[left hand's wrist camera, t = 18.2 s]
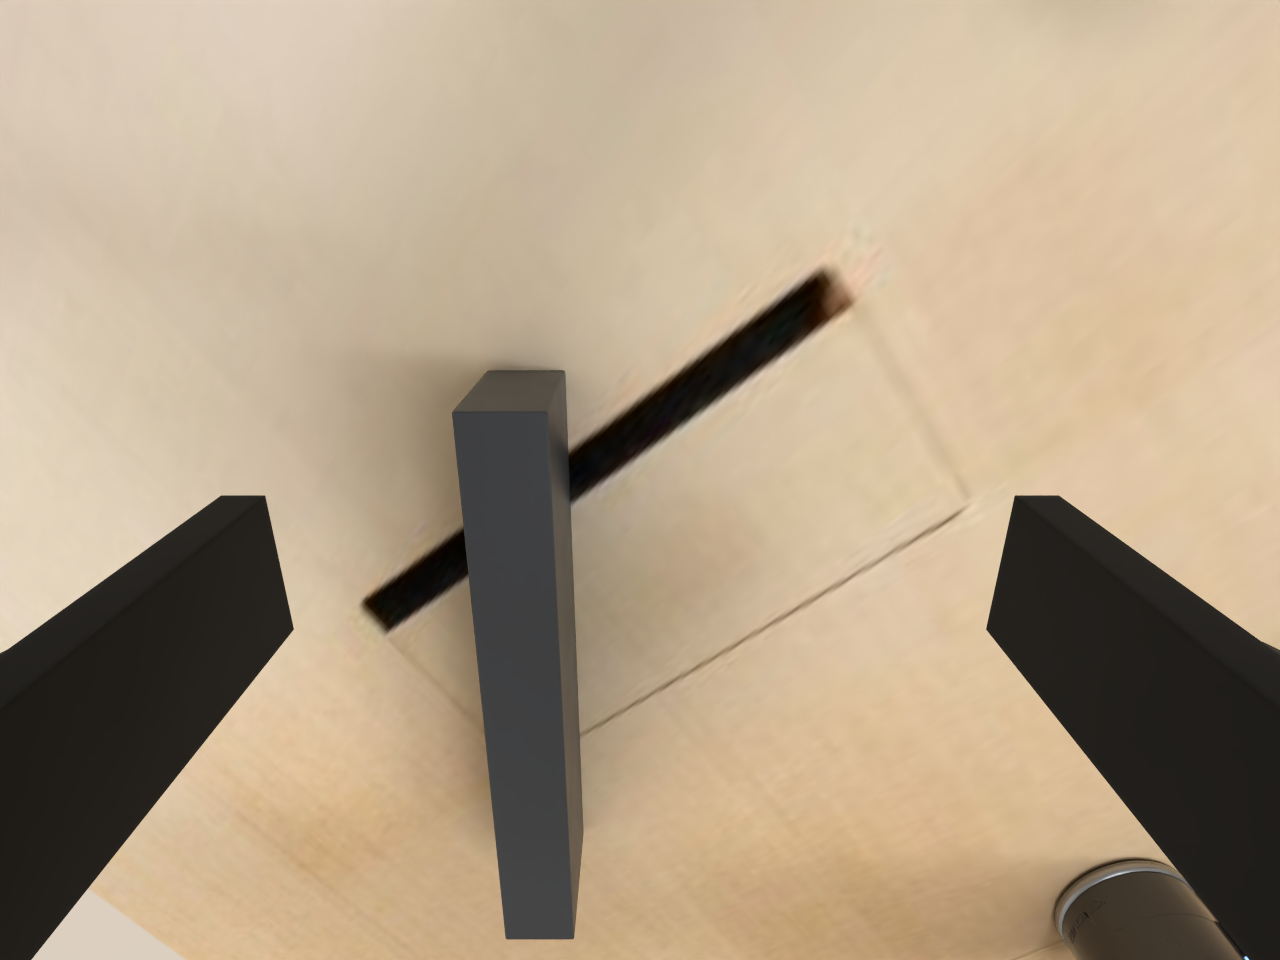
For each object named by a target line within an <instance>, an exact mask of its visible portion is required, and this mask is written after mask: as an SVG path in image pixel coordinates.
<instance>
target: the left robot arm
mask: <svg viewBox="0 0 1280 960" xmlns="http://www.w3.org/2000/svg"><path fill="white" fill-rule="evenodd" d="M293 630H294V628H293V623H292V619H291V614H290V610H289V605H288V600H287V596H286V591H285V586H284V582H283V577H282V572H281V568H280V563H279V558H278V554H277V549H276V544H275V540H274V535H273V530H272V526H271V521H270V516H269V512H268V507H267V502H266V498H265V496H220V497H219V498H217V499H216V500H215V501H213V502H212V503H210V504H209V505H208V506H206V507H205V508H203V509H202V510H201V511H199V512H198V513H196V514H195V515H194V516H192V517H191V518H190V519H188V520H187V521H185V522H184V523H183V524H181V525H180V526H178V527H177V528H176V529H174V530H173V531H172V532H170V533H169V534H167V535H166V536H165V537H163V538H162V539H160V540H159V541H158V542H156V543H155V544H154V545H152V546H151V547H149V548H148V549H147V550H145V551H144V552H142V553H141V554H140V555H138V556H137V557H135V558H134V559H133V560H131V561H130V562H129V563H127V564H126V565H124V566H123V567H122V568H120V569H119V570H117V571H116V572H115V573H113V574H112V575H111V576H109V577H108V578H106V579H105V580H104V581H102V582H101V583H99V584H98V585H97V586H95V587H94V588H92V589H91V590H90V591H88V592H87V593H86V594H84V595H83V596H81V597H80V598H79V599H77V600H76V601H74V602H73V603H72V604H70V605H69V606H68V607H66V608H65V609H63V610H62V611H61V612H59V613H58V614H56V615H55V616H54V617H52V618H51V619H50V620H48V621H47V622H45V623H44V624H43V625H41V626H40V627H38V628H37V629H36V630H34V631H33V632H31V633H30V634H29V635H27V636H26V637H25V638H23V639H22V640H20V641H19V642H18V643H16V644H15V645H13V646H12V647H11V648H9V649H8V650H6V651H4V652H2V653H0V960H31V959H32V958H33V957H34V956H35V954H36V953H37V952H38V951H39V949H40V948H41V947H42V946H43V944H44V943H45V942H46V940H47V939H48V938H49V937H50V935H51V934H52V933H53V932H54V930H55V929H56V928H57V927H58V925H59V924H60V923H61V922H62V920H63V919H64V918H65V917H66V915H67V914H68V913H69V912H70V910H71V909H72V908H73V906H74V905H75V904H76V903H77V901H78V900H79V899H80V898H81V896H82V895H83V894H84V893H85V891H86V890H87V889H88V888H89V886H90V885H91V884H92V883H93V881H94V880H95V879H96V878H97V876H98V875H99V874H100V873H101V871H102V870H103V869H104V867H105V866H106V865H107V864H108V862H109V861H110V860H111V859H112V857H113V856H114V855H115V854H116V852H117V851H118V850H119V849H120V847H121V846H122V845H123V844H124V842H125V841H126V840H127V839H128V837H129V836H130V835H131V834H132V832H133V831H134V830H135V828H136V827H137V826H138V825H139V823H140V822H141V821H142V820H143V818H144V817H145V816H146V815H147V813H148V812H149V811H150V810H151V808H152V807H153V806H154V805H155V803H156V802H157V801H158V800H159V798H160V797H161V796H162V795H163V793H164V792H165V791H166V789H167V788H168V787H169V786H170V784H171V783H172V782H173V781H174V779H175V778H176V777H177V776H178V774H179V773H180V772H181V771H182V769H183V768H184V767H185V766H186V764H187V763H188V762H189V761H190V759H191V758H192V757H193V755H194V754H195V753H196V752H197V750H198V749H199V748H200V747H201V745H202V744H203V743H204V742H205V740H206V739H207V738H208V737H209V735H210V734H211V733H212V732H213V730H214V729H215V728H216V727H217V725H218V724H219V723H220V722H221V720H222V719H223V718H224V716H225V715H226V714H227V713H228V711H229V710H230V709H231V708H232V706H233V705H234V704H235V703H236V701H237V700H238V699H239V698H240V696H241V695H242V694H243V693H244V691H245V690H246V689H247V688H248V686H249V685H250V684H251V683H252V681H253V680H254V679H255V677H256V676H257V675H258V674H259V672H260V671H261V670H262V669H263V667H264V666H265V665H266V664H267V662H268V661H269V660H270V659H271V657H272V656H273V655H274V654H275V652H276V651H277V650H278V649H279V647H280V646H281V645H282V644H283V642H284V641H285V640H286V638H287V637H288V636H289V635H290V633H291V632H292V631H293ZM986 630H987V631H988V632H989V633H990V635H991V636H992V637H993V638H994V640H995V641H996V642H997V644H998V645H999V646H1000V647H1001V649H1002V650H1003V651H1004V652H1005V654H1006V655H1007V656H1008V657H1009V659H1010V660H1011V661H1012V662H1013V664H1014V665H1015V666H1016V667H1017V669H1018V670H1019V671H1020V672H1021V674H1022V675H1023V676H1024V677H1025V679H1026V680H1027V681H1028V683H1029V684H1030V685H1031V686H1032V688H1033V689H1034V690H1035V691H1036V693H1037V694H1038V695H1039V696H1040V698H1041V699H1042V700H1043V701H1044V703H1045V704H1046V705H1047V706H1048V708H1049V709H1050V710H1051V711H1052V713H1053V714H1054V715H1055V716H1056V718H1057V719H1058V720H1059V722H1060V723H1061V724H1062V725H1063V727H1064V728H1065V729H1066V730H1067V732H1068V733H1069V734H1070V735H1071V737H1072V738H1073V739H1074V740H1075V742H1076V743H1077V744H1078V745H1079V747H1080V748H1081V749H1082V750H1083V752H1084V753H1085V754H1086V755H1087V757H1088V758H1089V759H1090V761H1091V762H1092V763H1093V764H1094V766H1095V767H1096V768H1097V769H1098V771H1099V772H1100V773H1101V774H1102V776H1103V777H1104V778H1105V779H1106V781H1107V782H1108V783H1109V784H1110V786H1111V787H1112V788H1113V789H1114V791H1115V792H1116V793H1117V795H1118V796H1119V797H1120V798H1121V800H1122V801H1123V802H1124V803H1125V805H1126V806H1127V807H1128V808H1129V810H1130V811H1131V812H1132V813H1133V815H1134V816H1135V817H1136V818H1137V820H1138V821H1139V822H1140V823H1141V825H1142V826H1143V827H1144V828H1145V830H1146V831H1147V832H1148V834H1149V835H1150V836H1151V837H1152V839H1153V840H1154V841H1155V842H1156V844H1157V845H1158V846H1159V847H1160V849H1161V850H1162V851H1163V852H1164V854H1165V855H1166V856H1167V857H1168V859H1169V860H1170V861H1171V862H1172V864H1173V865H1174V866H1175V867H1176V869H1177V870H1178V871H1179V873H1180V874H1181V875H1182V876H1183V878H1184V879H1185V880H1186V881H1187V883H1188V884H1189V885H1190V886H1191V888H1192V889H1193V890H1194V891H1195V893H1196V894H1197V895H1198V896H1199V898H1200V899H1201V900H1202V901H1203V903H1204V904H1205V905H1206V906H1207V908H1208V909H1209V910H1210V912H1211V913H1212V914H1213V915H1214V917H1215V918H1216V919H1217V920H1218V922H1219V923H1220V924H1221V925H1222V927H1223V928H1224V929H1225V930H1226V932H1227V933H1228V934H1229V935H1230V937H1231V938H1232V939H1233V940H1234V942H1235V943H1236V944H1237V946H1238V947H1239V948H1240V949H1241V951H1242V952H1243V953H1244V954H1245V956H1246V957H1247V958H1248V959H1249V960H1280V650H1279V649H1276V648H1274V647H1272V646H1270V645H1268V644H1266V643H1264V642H1261V641H1260V640H1258V639H1257V638H1255V637H1254V636H1253V635H1251V634H1250V633H1249V632H1247V631H1246V630H1244V629H1243V628H1242V627H1240V626H1239V625H1237V624H1236V623H1235V622H1233V621H1232V620H1230V619H1229V618H1228V617H1226V616H1225V615H1224V614H1222V613H1221V612H1219V611H1218V610H1217V609H1215V608H1214V607H1212V606H1211V605H1210V604H1208V603H1207V602H1206V601H1204V600H1203V599H1201V598H1200V597H1199V596H1197V595H1196V594H1194V593H1193V592H1192V591H1190V590H1189V589H1188V588H1186V587H1185V586H1183V585H1182V584H1181V583H1179V582H1178V581H1176V580H1175V579H1174V578H1172V577H1171V576H1169V575H1168V574H1167V573H1165V572H1164V571H1163V570H1161V569H1160V568H1158V567H1157V566H1156V565H1154V564H1153V563H1151V562H1150V561H1149V560H1147V559H1146V558H1145V557H1143V556H1142V555H1140V554H1139V553H1138V552H1136V551H1135V550H1133V549H1132V548H1131V547H1129V546H1128V545H1126V544H1125V543H1124V542H1122V541H1121V540H1120V539H1118V538H1117V537H1115V536H1114V535H1113V534H1111V533H1110V532H1108V531H1107V530H1106V529H1104V528H1103V527H1102V526H1100V525H1099V524H1097V523H1096V522H1095V521H1093V520H1092V519H1090V518H1089V517H1088V516H1086V515H1085V514H1084V513H1082V512H1081V511H1079V510H1078V509H1077V508H1075V507H1074V506H1072V505H1071V504H1070V503H1068V502H1067V501H1065V500H1064V499H1063V498H1061V497H1060V496H1015V498H1014V502H1013V507H1012V512H1011V516H1010V521H1009V526H1008V530H1007V535H1006V540H1005V544H1004V549H1003V554H1002V558H1001V563H1000V568H999V572H998V577H997V582H996V586H995V591H994V596H993V600H992V605H991V609H990V614H989V619H988V623H987V628H986Z"/></svg>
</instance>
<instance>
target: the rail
mask: <svg viewBox="0 0 1280 960" xmlns="http://www.w3.org/2000/svg"><path fill="white" fill-rule="evenodd" d="M452 417H453V426H454V436H455V446H456V456H457V466H458V475H459V485H460V495H461V505H462V515H463V524H464V534H465V544H466V554H467V564H468V573H469V583H470V593H471V603H472V613H473V622H474V632H475V642H476V652H477V662H478V671H479V681H480V691H481V701H482V711H483V720H484V730H485V740H486V750H487V760H488V769H489V779H490V789H491V799H492V809H493V818H494V828H495V838H496V848H497V858H498V867H499V877H500V887H501V897H502V907H503V916H504V926H505V936H506V939H574V933H575V922H576V910H577V899H578V888H579V876H580V865H581V854H582V842H583V812H582V787H581V762H580V736H579V711H578V686H577V661H576V635H575V610H574V585H573V560H572V534H571V509H570V484H569V459H568V433H567V408H566V383H565V371H487V372H486V374H485V375H484V376H483V377H482V378H481V379H480V381H479V382H478V383H477V384H476V385H475V386H474V387H473V389H472V390H471V391H470V392H469V393H468V394H467V396H466V397H465V398H464V399H463V400H462V401H461V403H460V404H459V405H458V406H457V407H456V408H455V410H454V411H453V412H452Z"/></svg>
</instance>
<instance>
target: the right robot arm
mask: <svg viewBox="0 0 1280 960" xmlns="http://www.w3.org/2000/svg"><path fill="white" fill-rule="evenodd" d="M1055 925H1056V928H1057V930H1058V932H1059V934H1060V936H1061V937H1062V939H1063V941H1064V943H1065V944H1066V945H1067V947H1068V948H1069V949H1070V950H1071V952H1072V954H1073V956H1074V957H1075V959H1076V960H1249V959H1248V958H1247V957H1246V956H1245V954H1244V953H1243V952H1242V951H1241V949H1240V948H1239V947H1238V946H1237V944H1236V943H1235V942H1234V940H1233V939H1232V938H1231V937H1230V935H1229V934H1228V933H1227V932H1226V930H1225V929H1224V928H1223V927H1222V925H1221V924H1220V923H1219V922H1218V920H1217V919H1216V918H1215V917H1214V915H1213V914H1212V913H1211V912H1210V910H1209V909H1208V908H1207V906H1206V905H1205V904H1204V903H1203V901H1202V900H1201V899H1200V898H1199V896H1198V895H1197V894H1196V893H1195V891H1194V890H1193V889H1192V888H1191V886H1190V885H1189V884H1188V883H1187V881H1186V880H1185V879H1184V878H1183V876H1182V875H1181V874H1180V873H1179V872H1178V871H1176V870H1175V869H1173V868H1171V867H1169V866H1167V865H1164V864H1161V863H1157V862H1152V861H1141V860H1139V861H1125V862H1119V863H1115V864H1111V865H1108V866H1105V867H1102V868H1099V869H1097V870H1095V871H1093V872H1091V873H1089V874H1087V875H1085V876H1084V877H1082V878H1081V879H1079V880H1078V881H1076V882H1075V883H1074V884H1073V885H1072V886H1071V887H1070V888H1069V889H1068V890H1067V891H1066V892H1065V893H1064V894H1063V896H1062V897H1061V899H1060V901H1059V903H1058V905H1057V907H1056V911H1055Z"/></svg>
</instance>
